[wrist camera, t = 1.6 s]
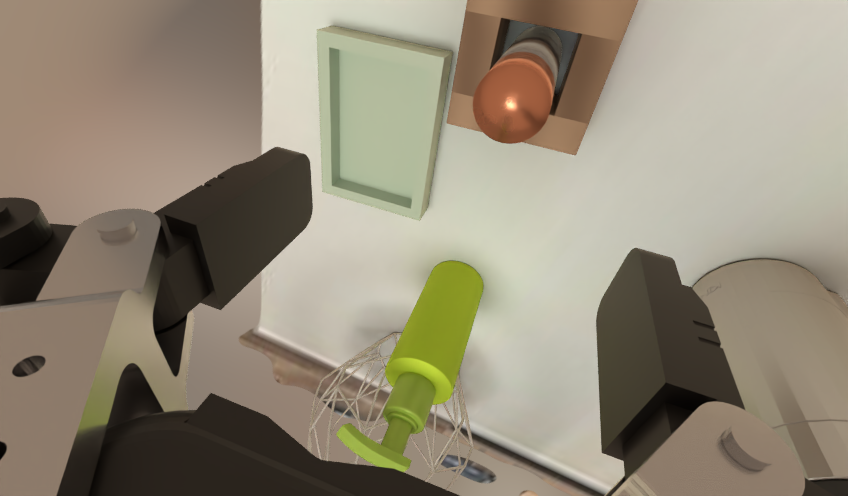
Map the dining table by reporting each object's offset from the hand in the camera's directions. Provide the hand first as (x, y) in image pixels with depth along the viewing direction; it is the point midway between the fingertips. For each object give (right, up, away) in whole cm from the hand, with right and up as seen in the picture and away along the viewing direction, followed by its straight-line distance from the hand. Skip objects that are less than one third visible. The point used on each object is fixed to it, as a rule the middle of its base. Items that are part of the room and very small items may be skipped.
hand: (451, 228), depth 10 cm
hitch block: (+7, +13, +18) cm, 24 cm away
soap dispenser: (+2, -4, +33) cm, 33 cm away
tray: (-4, +10, +25) cm, 27 cm away
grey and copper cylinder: (+7, +13, +18) cm, 24 cm away
